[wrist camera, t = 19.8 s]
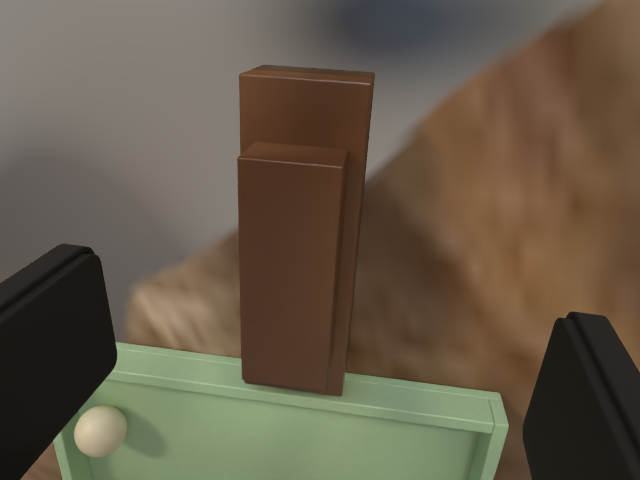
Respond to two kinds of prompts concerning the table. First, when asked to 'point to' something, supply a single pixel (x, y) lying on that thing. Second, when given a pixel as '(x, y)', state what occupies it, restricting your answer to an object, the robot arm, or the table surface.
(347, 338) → the stepped brown post
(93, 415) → the crumb
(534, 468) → the robot arm
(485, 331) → the table surface
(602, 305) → the table surface
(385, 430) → the tray
